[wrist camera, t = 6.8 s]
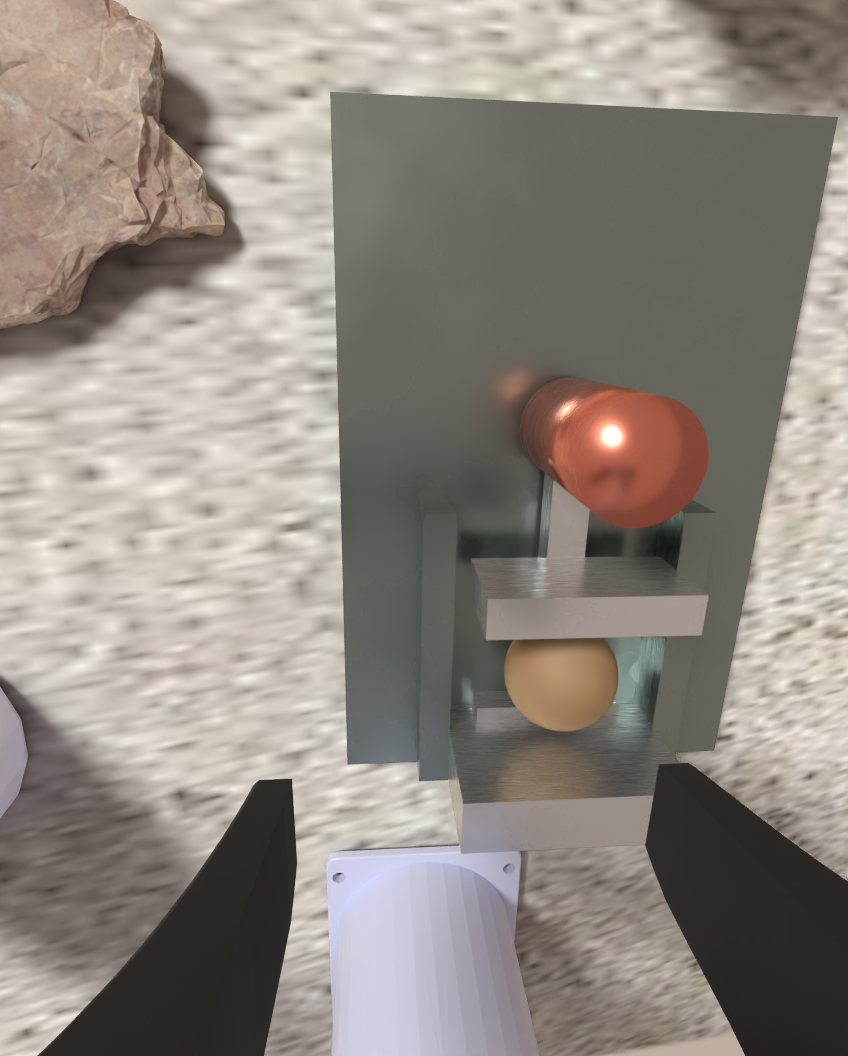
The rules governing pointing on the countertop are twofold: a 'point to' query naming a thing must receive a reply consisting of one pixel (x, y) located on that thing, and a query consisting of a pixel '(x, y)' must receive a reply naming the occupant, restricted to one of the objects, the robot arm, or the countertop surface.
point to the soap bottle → (10, 753)
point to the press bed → (508, 384)
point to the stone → (84, 152)
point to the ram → (613, 495)
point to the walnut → (561, 680)
